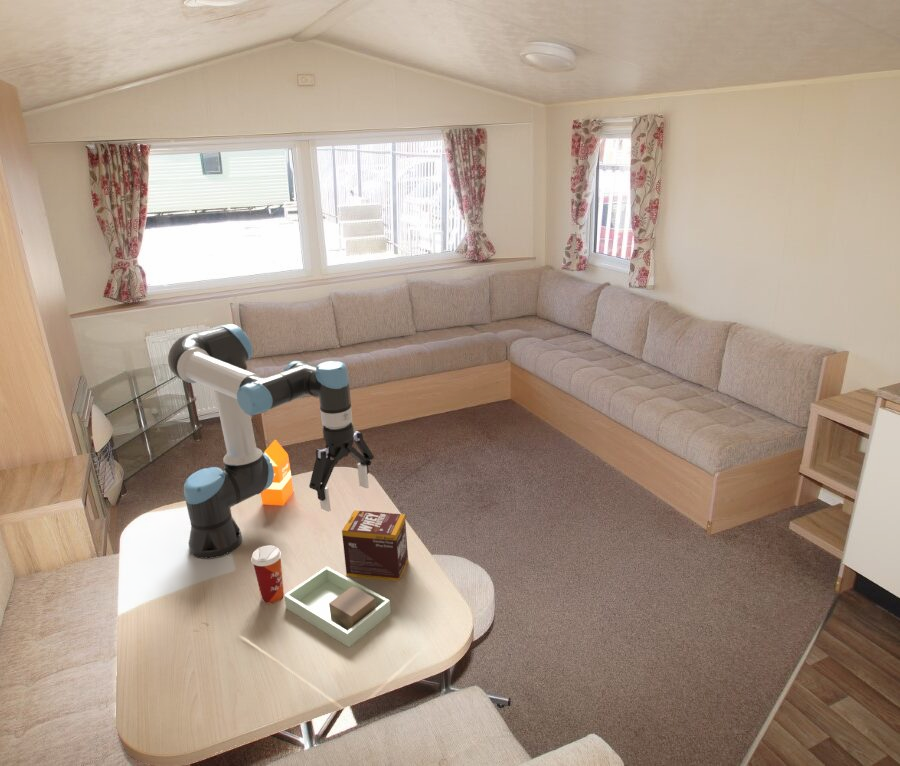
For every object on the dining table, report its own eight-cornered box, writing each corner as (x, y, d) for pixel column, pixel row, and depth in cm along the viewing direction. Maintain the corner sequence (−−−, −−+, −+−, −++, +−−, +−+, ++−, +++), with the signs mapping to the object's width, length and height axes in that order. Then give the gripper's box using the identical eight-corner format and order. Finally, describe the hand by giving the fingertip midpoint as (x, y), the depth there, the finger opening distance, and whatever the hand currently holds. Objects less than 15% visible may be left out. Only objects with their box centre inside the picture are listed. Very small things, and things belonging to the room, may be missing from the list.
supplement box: (399, 583, 180) (395, 535, 175) (346, 578, 183) (340, 530, 178) (409, 560, 190) (406, 513, 184) (358, 555, 193) (353, 509, 187)
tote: (286, 609, 172) (284, 595, 170) (328, 580, 183) (326, 566, 181) (349, 649, 158) (347, 634, 157) (391, 614, 169) (389, 600, 167)
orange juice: (261, 504, 221) (253, 450, 214) (272, 490, 229) (264, 438, 222) (284, 505, 220) (275, 451, 213) (294, 491, 228) (286, 439, 221)
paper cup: (283, 605, 174) (276, 561, 168) (254, 606, 174) (246, 562, 169) (290, 586, 181) (284, 543, 176) (262, 587, 181) (255, 544, 176)
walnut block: (331, 622, 166) (329, 603, 164) (354, 604, 172) (352, 586, 170) (353, 635, 161) (351, 616, 159) (376, 617, 167) (374, 598, 165)
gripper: (309, 446, 152) (319, 524, 160) (383, 409, 171) (388, 481, 178) (287, 438, 157) (298, 515, 165) (362, 403, 175) (368, 473, 183)
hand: (345, 497), depth 172 cm, fingers open, 13 cm apart
